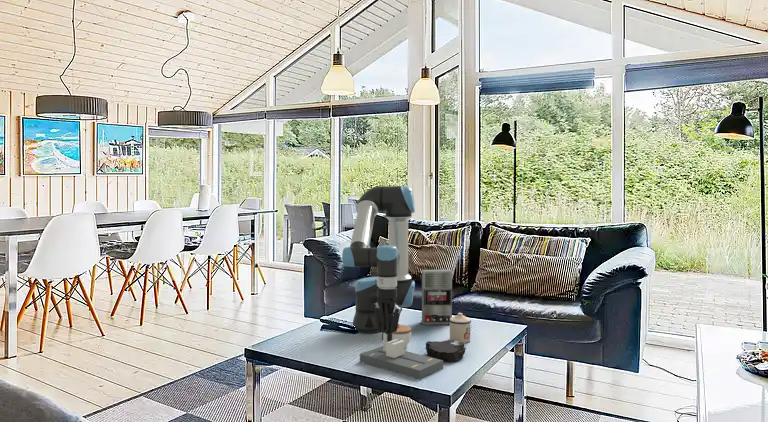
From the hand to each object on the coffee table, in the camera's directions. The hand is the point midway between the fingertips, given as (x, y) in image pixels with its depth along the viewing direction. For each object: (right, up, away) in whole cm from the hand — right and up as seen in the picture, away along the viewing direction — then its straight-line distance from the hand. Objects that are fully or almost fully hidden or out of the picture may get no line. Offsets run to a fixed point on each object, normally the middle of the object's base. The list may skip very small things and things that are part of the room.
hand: (387, 349), depth 216 cm
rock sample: (+23, -5, +8) cm, 24 cm away
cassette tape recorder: (+24, -1, +55) cm, 60 cm away
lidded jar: (+5, -4, +19) cm, 20 cm away
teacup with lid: (+31, -3, +29) cm, 43 cm away
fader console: (+5, -5, -4) cm, 8 cm away
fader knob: (+3, -1, -2) cm, 4 cm away
